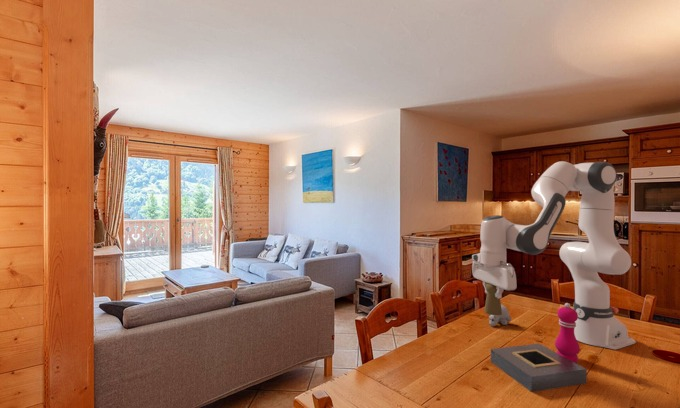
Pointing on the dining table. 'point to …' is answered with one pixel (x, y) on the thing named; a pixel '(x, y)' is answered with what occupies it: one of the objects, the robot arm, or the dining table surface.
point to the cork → (492, 301)
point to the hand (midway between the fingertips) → (493, 295)
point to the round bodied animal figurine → (500, 317)
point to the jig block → (538, 367)
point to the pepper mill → (567, 333)
